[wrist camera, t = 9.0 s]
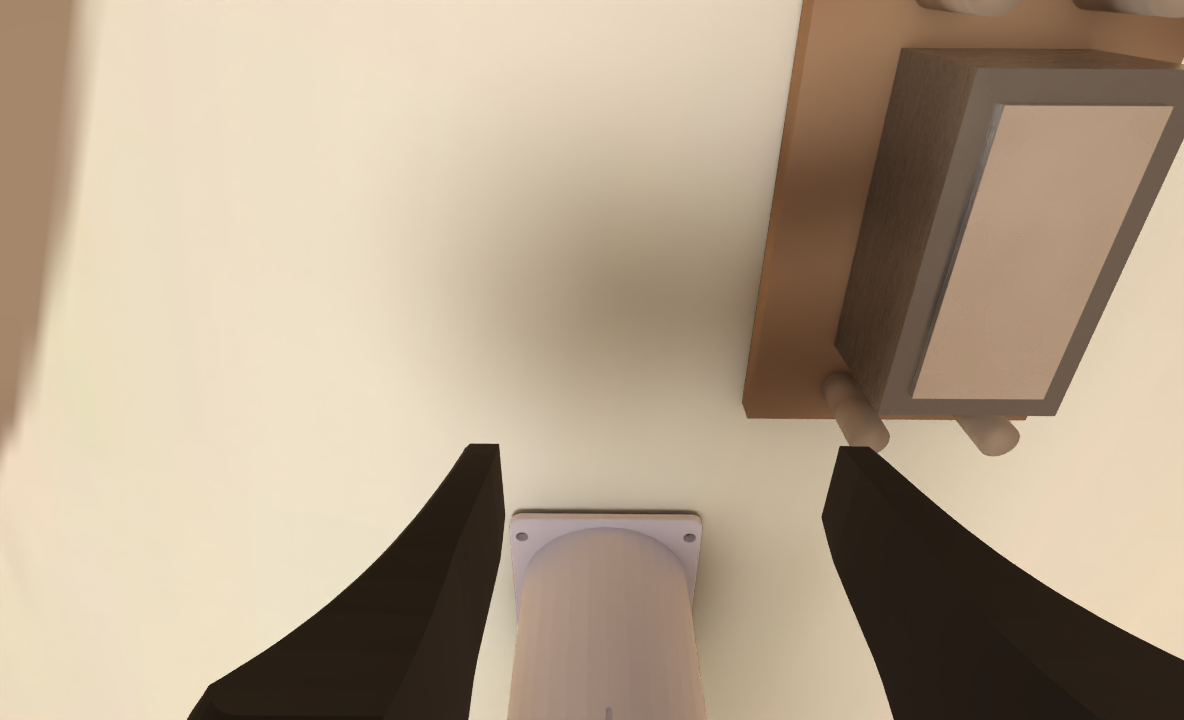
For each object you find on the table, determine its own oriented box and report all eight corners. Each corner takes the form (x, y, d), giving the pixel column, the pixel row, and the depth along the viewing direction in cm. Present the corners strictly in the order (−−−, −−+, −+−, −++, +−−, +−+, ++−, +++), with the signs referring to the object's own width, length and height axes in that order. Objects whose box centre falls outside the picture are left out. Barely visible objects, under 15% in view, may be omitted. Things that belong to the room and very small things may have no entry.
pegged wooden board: (1010, 404, 24) (1078, 476, 21) (741, 402, 24) (766, 474, 21) (1211, -82, 16) (1374, -94, 13) (816, -84, 16) (874, -97, 13)
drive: (982, 345, 22) (1059, 420, 18) (833, 344, 22) (880, 418, 18) (1091, 49, 17) (1223, 70, 13) (901, 47, 17) (982, 70, 13)
